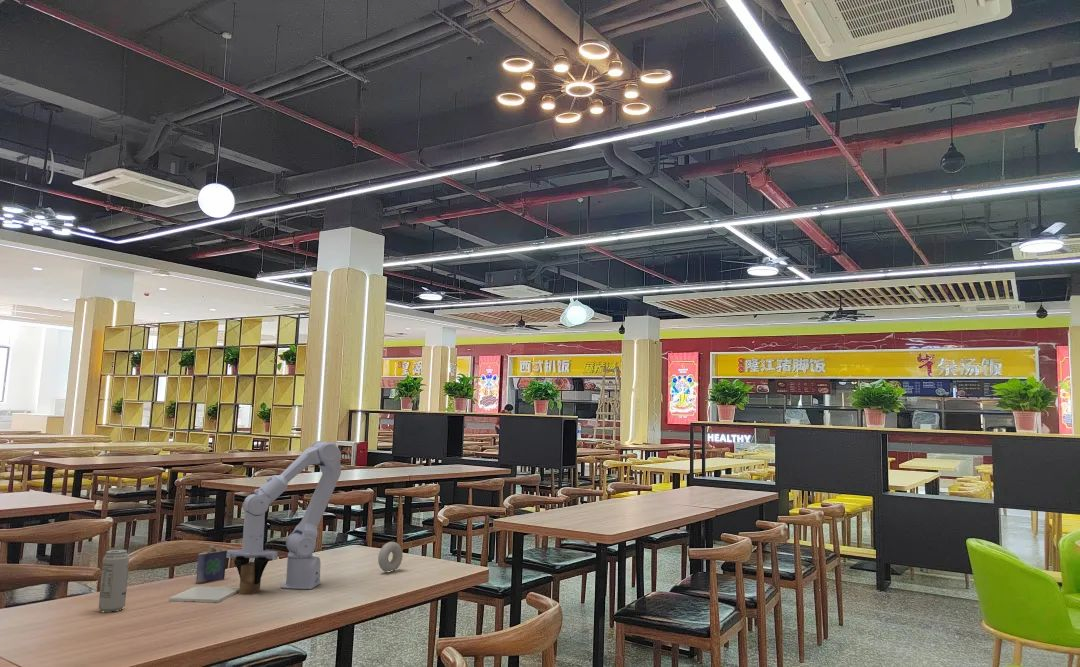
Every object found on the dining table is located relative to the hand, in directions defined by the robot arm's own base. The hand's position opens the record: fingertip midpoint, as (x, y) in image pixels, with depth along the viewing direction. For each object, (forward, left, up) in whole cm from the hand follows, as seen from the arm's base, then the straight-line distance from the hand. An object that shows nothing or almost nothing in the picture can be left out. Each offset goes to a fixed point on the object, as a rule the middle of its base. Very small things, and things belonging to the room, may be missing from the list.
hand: (250, 583), depth 212 cm
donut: (-33, -33, -3) cm, 47 cm away
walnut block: (0, 0, -2) cm, 2 cm away
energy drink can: (+26, +24, -3) cm, 35 cm away
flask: (+18, -12, -3) cm, 22 cm away
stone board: (+10, +6, -2) cm, 12 cm away
